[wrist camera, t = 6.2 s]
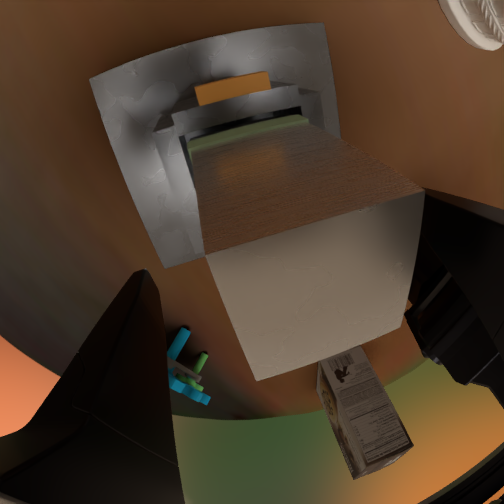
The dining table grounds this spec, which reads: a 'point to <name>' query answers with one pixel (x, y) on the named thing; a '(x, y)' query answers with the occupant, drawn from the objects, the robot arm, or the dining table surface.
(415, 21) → the dining table surface
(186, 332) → the blue angular plastic piece
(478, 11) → the decorative container
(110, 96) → the stand
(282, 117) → the block
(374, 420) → the coffee box
